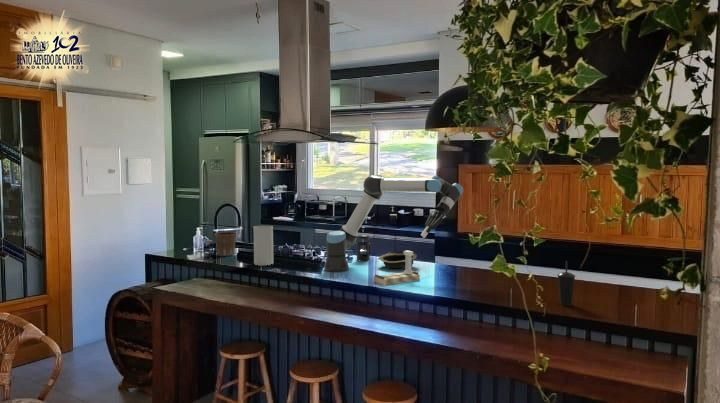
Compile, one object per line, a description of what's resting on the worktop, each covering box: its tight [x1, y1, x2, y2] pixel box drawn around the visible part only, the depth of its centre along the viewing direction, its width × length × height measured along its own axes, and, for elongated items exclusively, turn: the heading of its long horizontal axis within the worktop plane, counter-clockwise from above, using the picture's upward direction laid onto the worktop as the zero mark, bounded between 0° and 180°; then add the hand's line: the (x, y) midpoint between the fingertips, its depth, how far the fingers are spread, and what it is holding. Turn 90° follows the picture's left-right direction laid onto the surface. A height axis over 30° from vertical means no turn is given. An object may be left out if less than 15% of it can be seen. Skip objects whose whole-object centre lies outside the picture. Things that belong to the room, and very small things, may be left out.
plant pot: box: [213, 231, 238, 257], centre depth 372 cm, size 16×16×16 cm
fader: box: [403, 249, 414, 274], centre depth 286 cm, size 3×5×13 cm, turn 32°
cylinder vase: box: [252, 225, 274, 267], centre depth 335 cm, size 12×12×25 cm
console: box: [373, 269, 421, 286], centre depth 282 cm, size 24×10×4 cm, turn 121°
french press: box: [356, 226, 371, 262], centre depth 348 cm, size 12×9×23 cm
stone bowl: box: [377, 250, 418, 270], centre depth 322 cm, size 25×25×9 cm
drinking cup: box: [556, 260, 576, 307], centre depth 230 cm, size 8×8×20 cm
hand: (422, 236), depth 290 cm, fingers closed
